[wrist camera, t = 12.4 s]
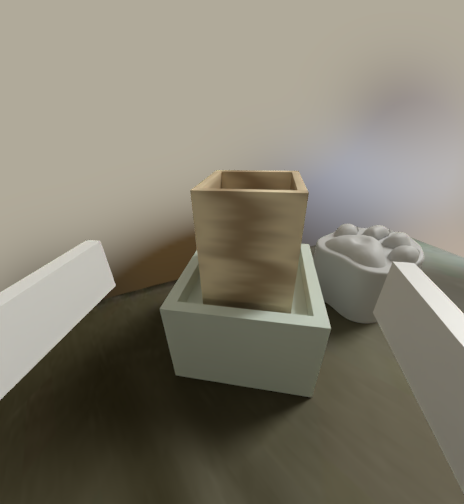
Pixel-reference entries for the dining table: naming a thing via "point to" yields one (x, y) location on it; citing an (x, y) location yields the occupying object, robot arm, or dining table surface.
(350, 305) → the lumpy-topped squat cylinder
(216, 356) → the pale green square box
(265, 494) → the dining table surface
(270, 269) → the birch crate
